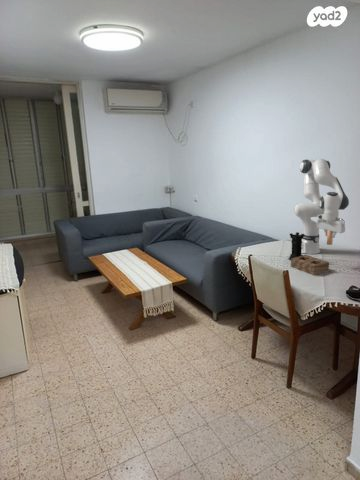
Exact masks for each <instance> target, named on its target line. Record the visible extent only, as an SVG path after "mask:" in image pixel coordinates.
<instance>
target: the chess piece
mask: <svg viewBox="0 0 360 480" xmlns="http://www.w3.org/2000/svg"><path fill="white" fill-rule="evenodd" d="M289 237H290V238H289V239H291V241H290V242H291V254H289V256H288V259H287V260H289V261H291V258H295V257H299V256H303V255H304V254H302V253H301V248H302V243H303V242H302V239H303V238H304V233H301V234H300V232H297V231H296V232H295V234H293V233H292V232H291V233H289Z"/></svg>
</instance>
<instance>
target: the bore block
mask: <svg viewBox="0 0 360 480" xmlns="http://www.w3.org/2000/svg"><path fill="white" fill-rule="evenodd" d="M302 255H303V256H299V257H295V258H291V260H290V267H291V268H293V269H296V270H298V271H300V272H301V271H302V272H304V273H306V274H308V275H313V276H315V275H319V274H321V273H325V272H329V271H330V270H329V268H330V262H329V261H326V260H323V259H320V258H317V257H315V256H312V255H309V254H308V255H307V254H302Z"/></svg>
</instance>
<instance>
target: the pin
mask: <svg viewBox="0 0 360 480" xmlns="http://www.w3.org/2000/svg"><path fill="white" fill-rule="evenodd" d="M331 235H333V231H329V230H327V236H326V245H329V246H332V245H333V239H334V238H332V237H331Z"/></svg>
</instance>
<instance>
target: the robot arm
mask: <svg viewBox="0 0 360 480" xmlns="http://www.w3.org/2000/svg"><path fill="white" fill-rule="evenodd" d="M299 170H300V172H301V173H302V174H305V175H304V177H303V196H304V197H305V199H308V200H309V201H311V202H300V203H298V204H296V205H295V206H294V215H296V216H297V217H298V218H299V219H300V220H301V223H302V225H303V234H304V238H303V239H302V242H303V243H302V248H301V255H307V254H308V255H317V254H319V253H321V249H320V229H321V230H323V232H324V234H325V235H324V236H325V237H327V230H329V231H333V235H331V237H332V238H333V239H334V238H336V234H337V233H339V234H344V233H346V224H345V220H344V219H343V218H339V210H346V209H347V208H348V207H349V204H350V201H349V198H348V196H347V194H346V193H345V191H344V188H343V187H342V185H341V182H340V181H339V179H338V177H337V176H334V175H333V173H332V172H331V163H330V161H329V160H326V159H324V158H319V159H317V158H316V159H303V160H302V161H301V162H300V164H299ZM320 185H322V186H326V187H330V188H331V189H333V190H334V191H328V192H326V193H325V195H322V196H321V195H320ZM312 218H317V220H316V221H315V220H313V219H312Z"/></svg>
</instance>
